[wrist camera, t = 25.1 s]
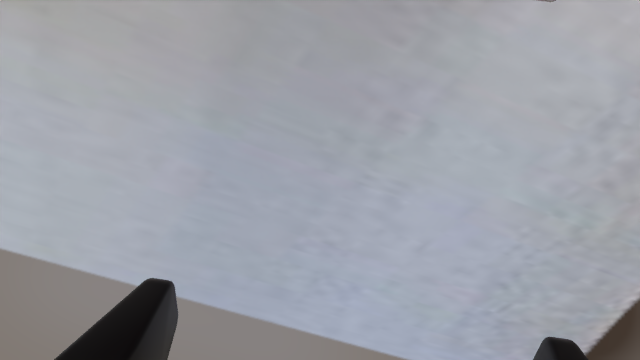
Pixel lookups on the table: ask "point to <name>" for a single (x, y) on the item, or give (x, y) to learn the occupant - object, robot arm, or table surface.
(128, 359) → the robot arm
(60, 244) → the table surface
